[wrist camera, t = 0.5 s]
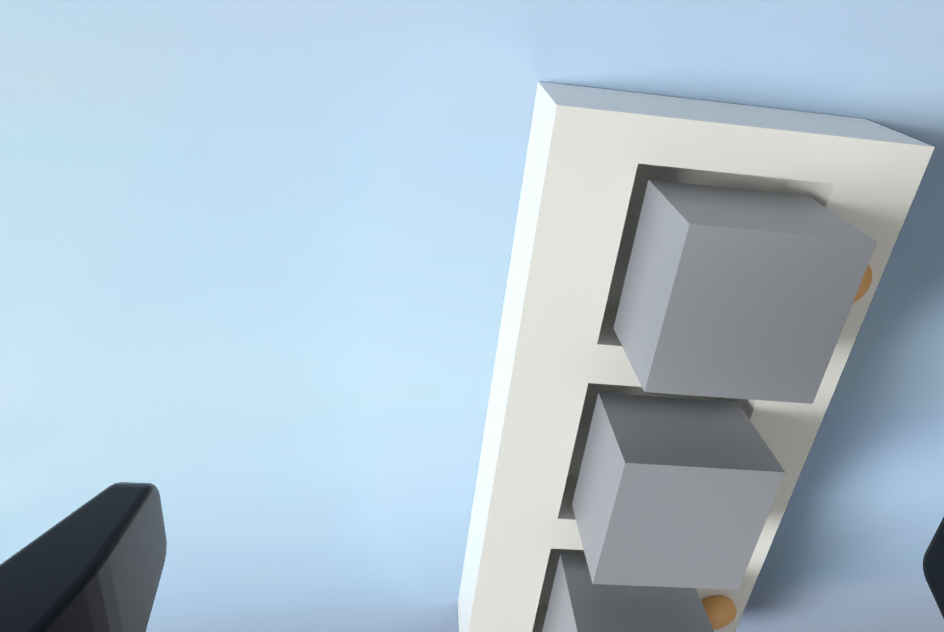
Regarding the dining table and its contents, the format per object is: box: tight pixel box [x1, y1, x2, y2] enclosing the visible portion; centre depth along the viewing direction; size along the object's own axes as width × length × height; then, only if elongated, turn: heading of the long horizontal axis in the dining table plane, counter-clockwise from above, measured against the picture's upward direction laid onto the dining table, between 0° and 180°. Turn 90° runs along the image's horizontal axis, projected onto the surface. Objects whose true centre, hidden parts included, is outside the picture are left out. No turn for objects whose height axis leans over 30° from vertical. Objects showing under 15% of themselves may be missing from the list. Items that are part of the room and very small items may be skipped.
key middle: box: [572, 392, 785, 590], centre depth 19 cm, size 4×4×3 cm
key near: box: [614, 180, 877, 404], centre depth 17 cm, size 4×4×3 cm
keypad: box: [458, 81, 935, 632], centre depth 22 cm, size 19×9×3 cm, turn 173°
